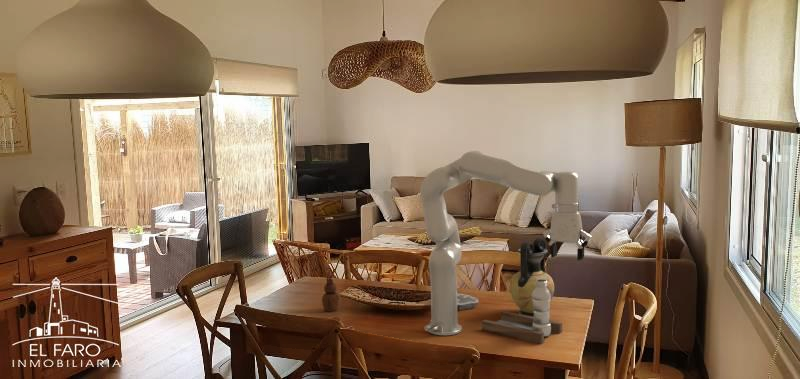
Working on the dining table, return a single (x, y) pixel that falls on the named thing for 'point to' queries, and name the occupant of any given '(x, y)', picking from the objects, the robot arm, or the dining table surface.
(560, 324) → the u rest
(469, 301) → the brain slice
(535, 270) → the amphora
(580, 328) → the dining table surface
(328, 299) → the wooden figurine
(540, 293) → the plastic bottle
